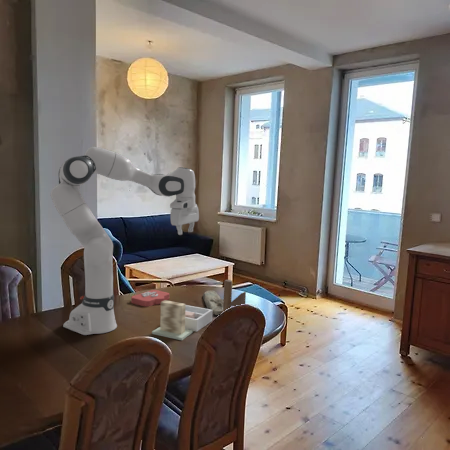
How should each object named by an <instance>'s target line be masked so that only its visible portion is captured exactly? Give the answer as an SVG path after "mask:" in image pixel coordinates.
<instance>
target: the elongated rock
mask: <svg viewBox="0 0 450 450" xmlns="http://www.w3.org/2000/svg"><path fill="white" fill-rule="evenodd" d="M202 297H203V301H204V304H205V305H206V309H211V310H213V315H214V316H220V315H219V314H221V313H222V311H223V304H224V298H221V296H220V295H219V294H218V293H217V291H215V290H210V289H209V290H206V291H205V292H204V293H203V295H202Z"/></svg>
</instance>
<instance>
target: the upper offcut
mask: <svg viewBox="0 0 450 450" xmlns="http://www.w3.org/2000/svg"><path fill="white" fill-rule="evenodd" d="M185 317H188V318H193V319H195V313H193V312H186V311H185Z"/></svg>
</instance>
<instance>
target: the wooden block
mask: <svg viewBox="0 0 450 450" xmlns="http://www.w3.org/2000/svg"><path fill="white" fill-rule="evenodd" d="M246 293H247V291H243V292H241V293H240V294H239V295H237V296H236V297H235V298H234V299H233V300H232V294H233V280H231V279H225V280H224V283H223V299H224V304H223V311H225V310H226V309H228V308H230V307H231V308H232V307H233V306H236V305H241V304H245V305H246V297H247V296H246ZM223 311H222V312H223Z"/></svg>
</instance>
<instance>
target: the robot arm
mask: <svg viewBox="0 0 450 450" xmlns="http://www.w3.org/2000/svg"><path fill="white" fill-rule="evenodd" d="M95 174H96V175H100V176H103V177H105V178H107V179H108V178H109V179H111V180H115V181H121V182H122V181H123V182H126V181H128V182H132V183H136V184H138V185H142V186H144V187H146V188H148V189H149V190H150V191H151V192H152V193H153V194H155V195H157V196H163V197H172V196H175V199H174V200H173V201H172V202H171V203H170V204H169V208H170V224H171V226H175V227H176V230H177V234H178V235H179V236H182V235H183V232H184V230H183V229H182V227H183V225H187V224H189V227H188V230H187V231H188V233H193V232H194V228H195V223H197V222H199V219H200V212H199V206H198V204H197V203H196V194H195V192H196V175H195V171H194V170H193V169H191V168H188V167H182V166H181V167H177V168H176V169H175V170H173V171H172V172H170V173H167V174H163V173H162V174H161V173H157V174H153V173H150V172H148V171H146V170H142V169H139V168H138V167H136V166H135V165H134V164H133V163H132V161H131V159H130V158H128V157H126V156H125V155H123V154H120V153H118V152H116V151H112V150H109V149H106V148H103V147H97V146H91V147H88V148H87V150H86V151H85V152H84V155H78V156H73V157H70V158H68V159H67V160H64V162H63V163H62V164H61V166H60V167H59V170H58V184H57V185H55V186H54V187H53V188H52V189H51V191H50V197H51V200H52V202H53V205H54V207H55V208H56V211H57V212H58V215H59V216H60V217H61V219H62V220H63V222H64V224H65V226H66V227H67V228H68V229H69V231H70V233H71V234H72V235H73V236H74V237H75V238H76V240H77V241H78V242H79V243H80V244H81V246H82V248H84V250H83V262H84V263H83V265H84V266H83V267H84V278H85V283H84V284H85V286H84V287H85V289H84V290H85V291H84V292H85V294H84V295H82V296H80V298H79V300H82V302H81V303H80V304H78V305H77V306H76V307H74V309H72V310H71V311H70V313H69V319H68V320H67V321H65V322H64V323H63V326H62V327H63V328H65V329H68V330H70V331H72V332H76V333H78V334H81V335H83V336H87V335H88V336H89V335H93V334H98V335H99V334H105V333H106V334H107V333H109V332H112V331H115V330H116V329H117V327H118V324H117V321H116V315H115V310H114V305H115V294H114V272H113V271H114V267H113V265H114V264H113V258H114V257H113V256H114V255H113V253H114V243H113V241H112V239H111V237H110V235H108V232H106V230H105V229H104V228H103V226H102V225H101V223H100V222H99V221H98V219H97V218H96V217H95V215H94V214H93V212H92V210H91V208H90V207H89V205H88V203H87V202H86V201H85V199H84V198H83V196H82V194H81V190H80V187H81V186H82V185H84V184H86V183H87V181H89V180H90V179H91V177H92V176H93V175H95Z"/></svg>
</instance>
